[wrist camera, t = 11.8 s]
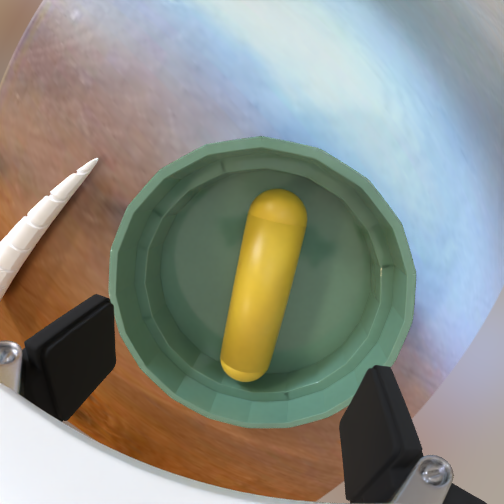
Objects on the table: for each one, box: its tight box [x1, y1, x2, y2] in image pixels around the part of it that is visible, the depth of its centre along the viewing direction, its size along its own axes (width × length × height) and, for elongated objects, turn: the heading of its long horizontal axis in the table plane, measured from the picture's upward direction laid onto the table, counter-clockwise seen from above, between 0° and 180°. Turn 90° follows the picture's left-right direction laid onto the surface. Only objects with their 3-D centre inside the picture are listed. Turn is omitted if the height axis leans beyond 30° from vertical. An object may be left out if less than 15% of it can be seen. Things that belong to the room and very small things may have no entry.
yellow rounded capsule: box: [220, 189, 307, 382], centre depth 19 cm, size 14×4×4 cm, turn 168°
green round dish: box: [109, 136, 416, 428], centre depth 18 cm, size 18×18×6 cm
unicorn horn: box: [0, 158, 99, 300], centre depth 21 cm, size 5×24×5 cm, turn 119°
